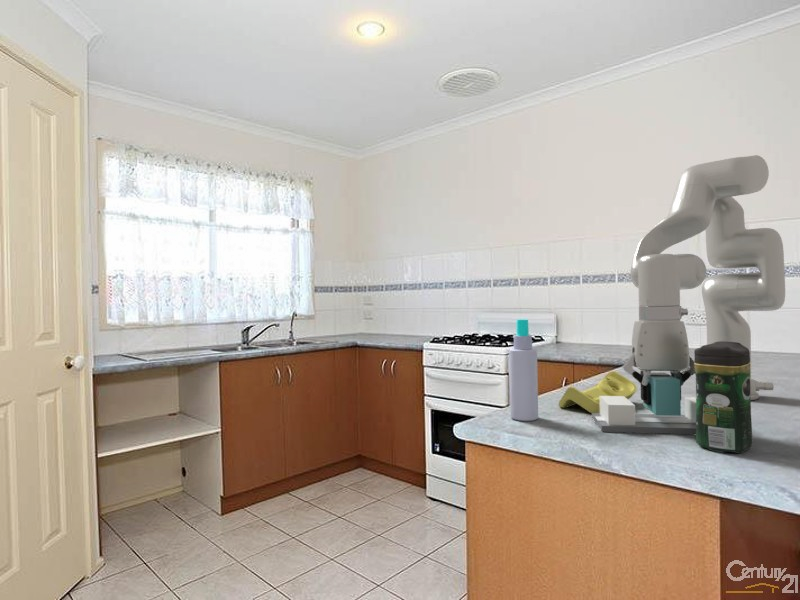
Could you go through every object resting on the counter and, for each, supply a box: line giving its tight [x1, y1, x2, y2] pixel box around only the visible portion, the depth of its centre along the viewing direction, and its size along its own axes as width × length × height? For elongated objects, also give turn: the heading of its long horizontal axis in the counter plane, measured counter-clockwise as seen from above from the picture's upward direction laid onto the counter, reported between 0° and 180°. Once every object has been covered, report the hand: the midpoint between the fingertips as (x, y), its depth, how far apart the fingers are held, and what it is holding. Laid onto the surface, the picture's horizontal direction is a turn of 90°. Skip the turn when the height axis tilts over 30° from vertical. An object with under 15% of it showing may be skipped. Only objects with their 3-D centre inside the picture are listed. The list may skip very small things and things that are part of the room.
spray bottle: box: [508, 318, 539, 422], centre depth 112 cm, size 6×6×22 cm
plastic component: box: [558, 371, 638, 414], centre depth 123 cm, size 20×7×10 cm
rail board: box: [591, 396, 696, 435], centre depth 103 cm, size 25×11×5 cm, turn 79°
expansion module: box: [642, 372, 682, 416], centre depth 103 cm, size 4×9×7 cm, turn 169°
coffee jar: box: [693, 341, 753, 454], centre depth 89 cm, size 10×8×19 cm
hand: (660, 403), depth 103 cm, fingers closed on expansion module, 4 cm apart
